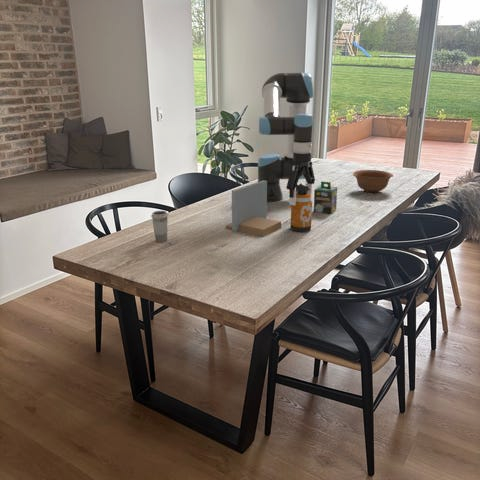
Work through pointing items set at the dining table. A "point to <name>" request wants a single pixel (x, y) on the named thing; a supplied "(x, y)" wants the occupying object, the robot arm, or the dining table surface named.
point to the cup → (160, 225)
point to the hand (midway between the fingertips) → (300, 201)
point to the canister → (301, 210)
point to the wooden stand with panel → (252, 210)
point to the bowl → (372, 180)
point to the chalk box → (325, 198)
